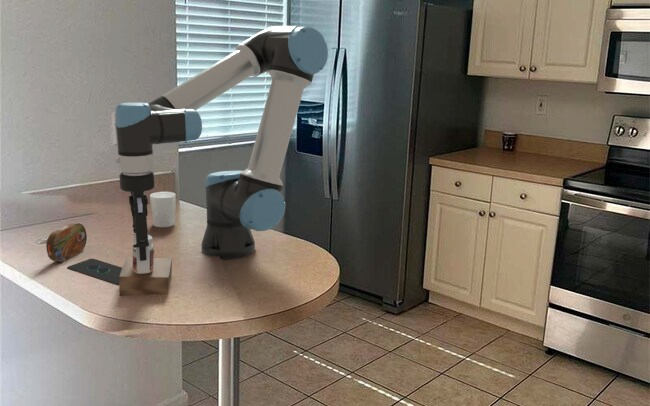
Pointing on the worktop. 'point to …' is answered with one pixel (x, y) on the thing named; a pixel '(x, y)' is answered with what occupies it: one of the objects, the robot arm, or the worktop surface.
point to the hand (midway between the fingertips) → (142, 265)
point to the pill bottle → (151, 255)
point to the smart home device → (98, 270)
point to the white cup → (163, 208)
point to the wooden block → (146, 278)
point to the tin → (66, 242)
